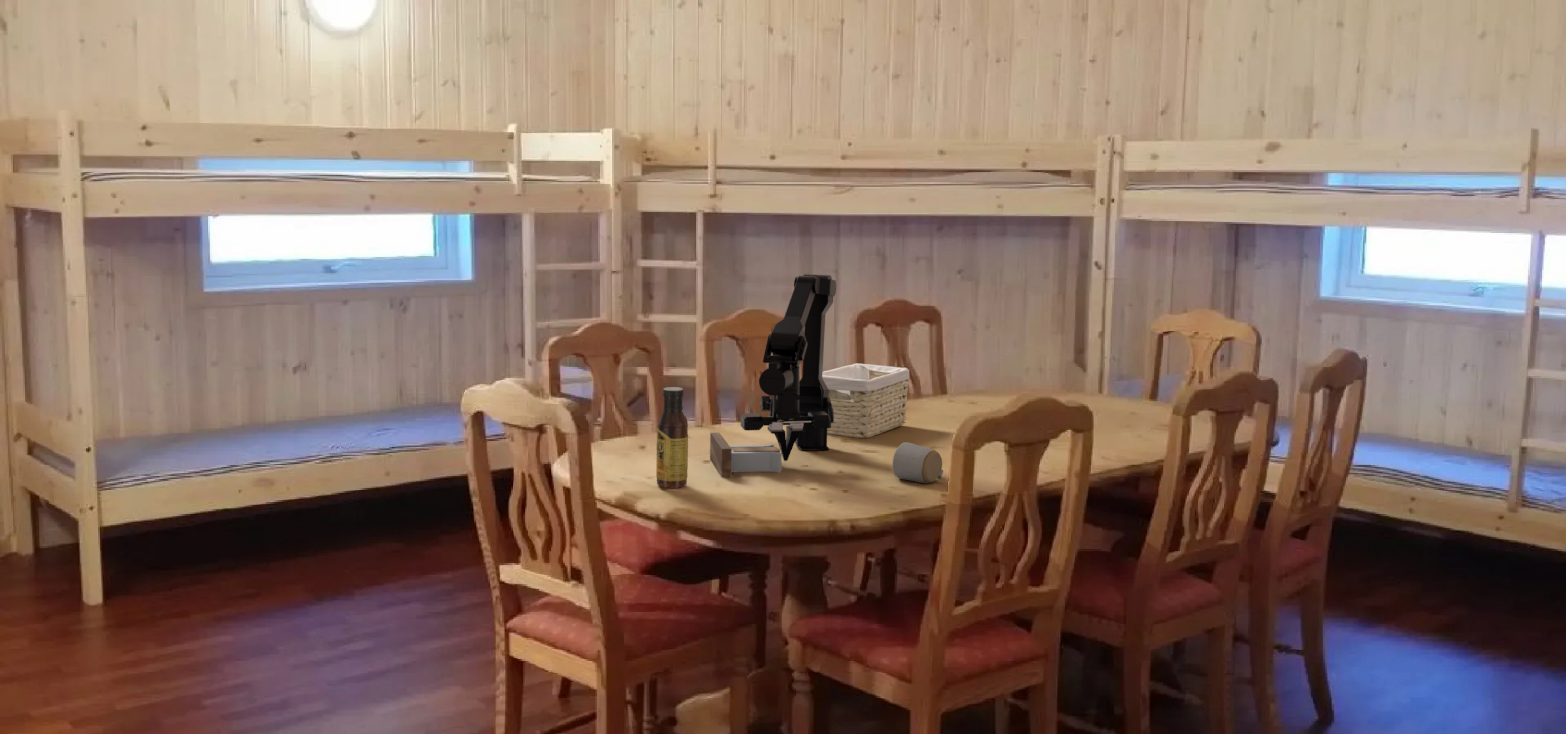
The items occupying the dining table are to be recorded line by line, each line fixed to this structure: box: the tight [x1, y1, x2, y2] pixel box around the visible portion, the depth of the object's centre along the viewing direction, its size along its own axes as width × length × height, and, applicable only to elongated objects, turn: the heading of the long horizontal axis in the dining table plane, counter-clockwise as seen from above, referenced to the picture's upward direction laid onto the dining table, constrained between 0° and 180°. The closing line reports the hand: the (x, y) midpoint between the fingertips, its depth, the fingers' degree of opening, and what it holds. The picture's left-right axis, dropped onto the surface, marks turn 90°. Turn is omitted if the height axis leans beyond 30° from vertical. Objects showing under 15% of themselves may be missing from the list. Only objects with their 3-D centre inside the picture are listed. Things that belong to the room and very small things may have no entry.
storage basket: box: [822, 363, 911, 439], centre depth 355 cm, size 24×16×15 cm
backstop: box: [709, 432, 732, 478], centre depth 306 cm, size 2×18×6 cm, turn 10°
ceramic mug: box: [892, 441, 944, 484], centre depth 299 cm, size 11×8×8 cm
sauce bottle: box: [655, 386, 689, 489], centre depth 288 cm, size 7×6×20 cm
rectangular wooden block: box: [731, 446, 781, 453], centre depth 308 cm, size 10×4×4 cm, turn 101°
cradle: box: [729, 443, 783, 473], centre depth 308 cm, size 11×11×4 cm
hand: (785, 460), depth 309 cm, fingers closed
